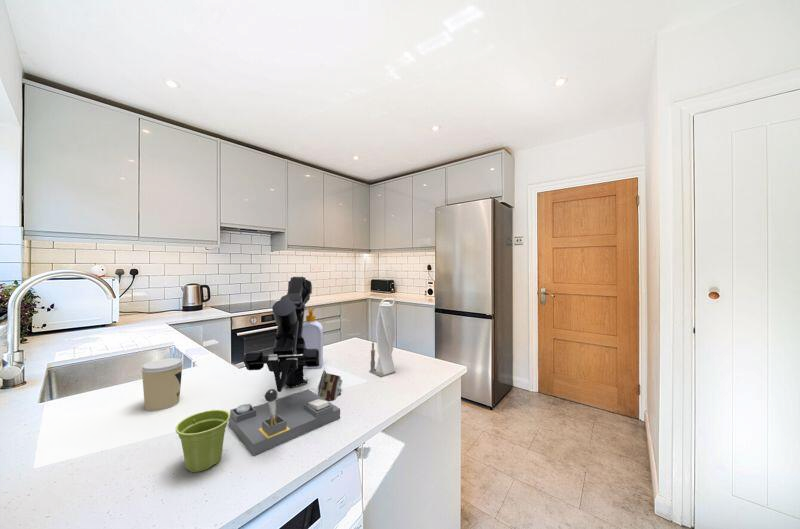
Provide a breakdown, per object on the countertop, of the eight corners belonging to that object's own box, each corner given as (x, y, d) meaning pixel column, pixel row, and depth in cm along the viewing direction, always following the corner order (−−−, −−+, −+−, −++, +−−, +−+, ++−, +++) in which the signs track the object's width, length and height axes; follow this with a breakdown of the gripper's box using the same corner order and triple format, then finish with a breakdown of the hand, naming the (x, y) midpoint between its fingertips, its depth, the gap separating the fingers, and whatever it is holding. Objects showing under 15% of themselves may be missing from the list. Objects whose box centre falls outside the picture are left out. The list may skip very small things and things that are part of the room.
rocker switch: (308, 406, 79) (307, 402, 79) (318, 402, 81) (318, 398, 82) (317, 410, 76) (317, 405, 76) (328, 405, 78) (328, 401, 78)
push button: (234, 411, 75) (234, 407, 75) (247, 407, 77) (247, 403, 77) (238, 416, 73) (238, 411, 73) (251, 411, 75) (251, 407, 75)
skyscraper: (386, 366, 119) (387, 296, 118) (400, 372, 113) (400, 298, 112) (369, 371, 113) (370, 298, 113) (382, 378, 107) (383, 300, 107)
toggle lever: (269, 420, 70) (265, 386, 66) (281, 419, 71) (278, 386, 67) (267, 430, 68) (262, 396, 64) (279, 429, 68) (275, 395, 64)
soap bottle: (296, 370, 114) (297, 310, 114) (299, 363, 121) (300, 307, 121) (321, 369, 115) (321, 309, 115) (322, 362, 122) (323, 307, 122)
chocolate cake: (340, 405, 88) (348, 367, 96) (316, 400, 86) (326, 362, 95) (333, 415, 94) (341, 378, 103) (311, 411, 93) (321, 374, 101)
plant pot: (168, 485, 55) (168, 438, 55) (182, 454, 64) (182, 414, 64) (226, 471, 59) (226, 427, 59) (232, 444, 68) (232, 406, 68)
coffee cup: (186, 404, 86) (186, 362, 86) (143, 416, 79) (143, 371, 79) (178, 394, 92) (179, 355, 92) (139, 404, 86) (139, 362, 85)
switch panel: (228, 424, 76) (228, 407, 76) (308, 397, 91) (308, 382, 91) (253, 456, 64) (253, 435, 64) (340, 418, 79) (340, 401, 79)
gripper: (321, 348, 93) (318, 399, 83) (256, 351, 89) (245, 405, 79) (320, 329, 85) (316, 383, 75) (249, 331, 81) (235, 389, 71)
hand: (279, 391), depth 75 cm, fingers closed
